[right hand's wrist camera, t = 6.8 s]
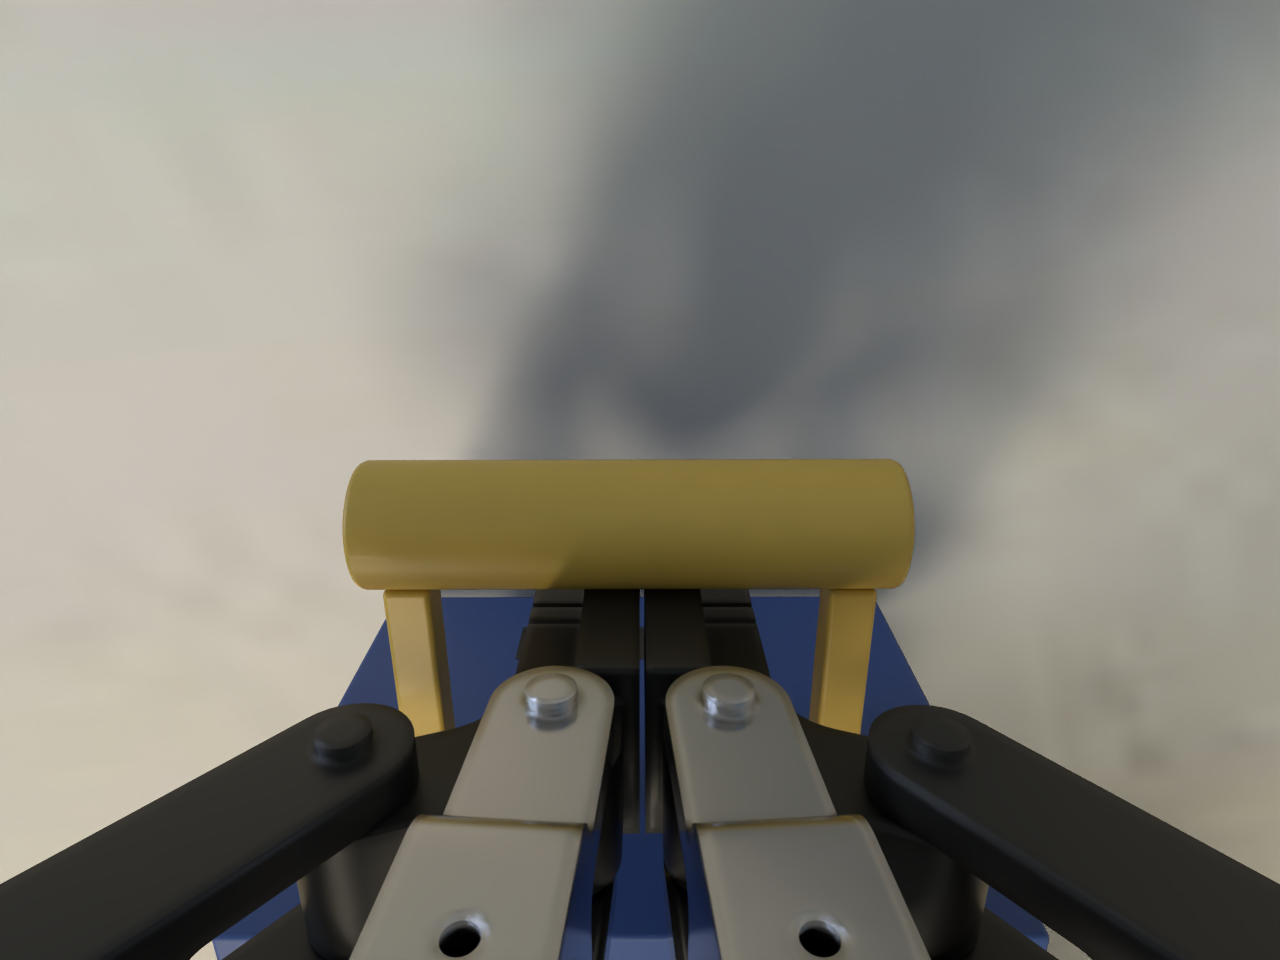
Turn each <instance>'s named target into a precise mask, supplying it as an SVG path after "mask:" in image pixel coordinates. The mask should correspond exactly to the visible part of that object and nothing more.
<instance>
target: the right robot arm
mask: <svg viewBox="0 0 1280 960" xmlns="http://www.w3.org/2000/svg"><path fill="white" fill-rule="evenodd" d="M644 711H645V829H646V833H663V897H664V905H665V913H666V922H667V930H668V938H669V946H670V954H671V960H1058V959H1057V958H1055V957H1054V956H1053V955H1051V954H1050V953H1048V952H1047V951H1046V950H1044V949H1043V948H1042V947H1040V946H1039V945H1037V944H1036V943H1035V942H1033V941H1032V940H1030V939H1029V938H1028V937H1026V936H1025V935H1023V934H1022V933H1021V932H1019V931H1018V930H1016V929H1015V928H1014V927H1012V926H1011V925H1010V924H1008V923H1007V922H1005V921H1004V920H1003V919H1001V918H1000V917H998V916H997V915H996V914H994V913H993V912H991V911H990V910H989V909H987V908H986V907H985V903H986V898H987V893H988V888H989V886H990V887H992V888H993V889H995V890H996V891H998V892H999V893H1001V894H1002V895H1003V896H1005V897H1006V898H1008V899H1009V900H1011V901H1012V902H1014V903H1015V904H1016V905H1018V906H1019V907H1021V908H1022V909H1024V910H1025V911H1026V912H1028V913H1029V914H1031V915H1032V916H1034V917H1035V918H1037V919H1038V920H1039V921H1041V922H1042V923H1044V924H1045V925H1047V926H1048V927H1049V928H1051V929H1052V930H1054V931H1055V932H1057V933H1058V934H1060V935H1061V936H1062V937H1064V938H1065V939H1067V940H1068V941H1070V942H1071V943H1073V944H1074V945H1075V946H1077V947H1078V948H1079V949H1081V950H1082V951H1083V952H1085V953H1086V954H1087V955H1088V956H1089V957H1090V958H1091V959H1092V960H1280V884H1278V883H1276V882H1274V881H1273V880H1271V879H1269V878H1267V877H1265V876H1263V875H1262V874H1260V873H1258V872H1256V871H1254V870H1252V869H1250V868H1249V867H1247V866H1245V865H1243V864H1241V863H1239V862H1238V861H1236V860H1234V859H1232V858H1230V857H1228V856H1226V855H1225V854H1223V853H1221V852H1219V851H1217V850H1215V849H1214V848H1212V847H1210V846H1208V845H1206V844H1204V843H1202V842H1201V841H1199V840H1197V839H1195V838H1193V837H1191V836H1190V835H1188V834H1186V833H1184V832H1182V831H1180V830H1178V829H1177V828H1175V827H1173V826H1171V825H1169V824H1167V823H1166V822H1164V821H1162V820H1160V819H1158V818H1156V817H1154V816H1153V815H1151V814H1149V813H1147V812H1145V811H1143V810H1142V809H1140V808H1138V807H1136V806H1134V805H1132V804H1130V803H1129V802H1127V801H1125V800H1123V799H1121V798H1119V797H1118V796H1116V795H1114V794H1112V793H1110V792H1108V791H1106V790H1105V789H1103V788H1101V787H1099V786H1097V785H1095V784H1094V783H1092V782H1090V781H1088V780H1086V779H1084V778H1082V777H1081V776H1079V775H1077V774H1075V773H1073V772H1071V771H1070V770H1068V769H1066V768H1064V767H1062V766H1060V765H1058V764H1057V763H1055V762H1053V761H1051V760H1049V759H1047V758H1046V757H1044V756H1042V755H1040V754H1038V753H1036V752H1034V751H1033V750H1031V749H1029V748H1027V747H1025V746H1023V745H1022V744H1020V743H1018V742H1016V741H1014V740H1012V739H1011V738H1009V737H1007V736H1005V735H1003V734H1001V733H999V732H998V731H996V730H994V729H992V728H990V727H988V726H987V725H985V724H983V723H981V722H979V721H977V720H975V719H973V718H971V717H969V716H967V715H965V714H962V713H959V712H957V711H954V710H950V709H946V708H942V707H936V706H930V705H906V706H900V707H896V708H892V709H889V710H887V711H885V712H883V713H882V714H880V715H879V716H878V717H876V719H875V720H874V721H873V722H872V724H871V726H870V729H869V735H868V736H865V735H861V734H856V733H851V732H847V731H842V730H838V729H834V728H830V727H826V726H823V725H820V724H817V723H815V722H812V721H810V720H808V719H806V718H804V717H802V716H800V715H799V714H797V713H796V712H795V710H794V707H793V705H792V702H791V700H790V698H789V696H788V694H787V692H786V691H785V690H784V689H783V687H782V686H781V685H779V684H778V683H777V682H776V681H774V680H773V679H771V677H770V673H769V669H768V665H767V661H766V657H765V654H764V650H763V646H762V642H761V638H760V634H759V630H758V626H757V624H756V618H755V614H754V610H753V607H752V603H751V599H750V595H749V591H748V589H644ZM623 834H640V589H536V592H535V596H534V601H533V607H532V609H531V613H530V617H529V624H528V625H527V629H526V633H525V637H524V641H523V645H522V650H521V654H520V658H519V662H518V666H517V670H516V674H515V675H514V676H512V677H510V678H509V679H507V680H505V681H504V682H503V683H502V684H501V685H499V686H498V687H497V689H496V690H495V691H494V692H493V694H492V696H491V697H490V699H489V702H488V704H487V707H486V709H485V712H484V714H483V717H482V718H480V719H478V720H476V721H474V722H472V723H469V724H467V725H464V726H461V727H457V728H453V729H450V730H445V731H440V732H436V733H431V734H427V735H422V736H417V737H415V733H414V727H413V725H412V722H411V721H410V719H409V718H408V717H407V716H406V715H405V714H404V713H402V712H401V711H399V710H397V709H395V708H393V707H390V706H386V705H381V704H375V703H357V704H348V705H343V706H338V707H334V708H331V709H327V710H325V711H322V712H319V713H317V714H315V715H313V716H311V717H308V718H306V719H305V720H303V721H301V722H299V723H297V724H295V725H294V726H292V727H290V728H288V729H286V730H284V731H282V732H281V733H279V734H277V735H275V736H273V737H271V738H270V739H268V740H266V741H264V742H262V743H260V744H258V745H257V746H255V747H253V748H251V749H249V750H247V751H246V752H244V753H242V754H240V755H238V756H236V757H234V758H233V759H231V760H229V761H227V762H225V763H223V764H222V765H220V766H218V767H216V768H214V769H212V770H210V771H209V772H207V773H205V774H203V775H201V776H199V777H198V778H196V779H194V780H192V781H190V782H188V783H186V784H185V785H183V786H181V787H179V788H177V789H175V790H174V791H172V792H170V793H168V794H166V795H164V796H162V797H161V798H159V799H157V800H155V801H153V802H151V803H150V804H148V805H146V806H144V807H142V808H140V809H138V810H137V811H135V812H133V813H131V814H129V815H127V816H126V817H124V818H122V819H120V820H118V821H116V822H114V823H113V824H111V825H109V826H107V827H105V828H103V829H102V830H100V831H98V832H96V833H94V834H92V835H90V836H89V837H87V838H85V839H83V840H81V841H79V842H78V843H76V844H74V845H72V846H70V847H68V848H66V849H65V850H63V851H61V852H59V853H57V854H55V855H54V856H52V857H50V858H48V859H46V860H44V861H42V862H41V863H39V864H37V865H35V866H33V867H31V868H30V869H28V870H26V871H24V872H22V873H20V874H18V875H17V876H15V877H13V878H11V879H9V880H7V881H6V882H4V883H2V884H0V960H190V958H191V957H192V956H193V955H194V954H195V953H196V952H198V951H199V950H200V949H201V948H202V947H204V946H205V945H206V944H208V943H209V942H210V941H212V940H213V939H215V938H216V937H218V936H219V935H220V934H222V933H223V932H225V931H226V930H228V929H229V928H231V927H232V926H233V925H235V924H236V923H238V922H239V921H241V920H242V919H243V918H245V917H246V916H248V915H249V914H251V913H252V912H254V911H255V910H256V909H258V908H259V907H261V906H262V905H264V904H265V903H267V902H268V901H269V900H271V899H272V898H274V897H275V896H277V895H278V894H279V893H281V892H282V891H284V890H285V889H287V888H288V887H290V886H291V885H292V884H294V883H295V882H297V887H298V892H299V897H300V902H301V903H300V904H298V905H297V906H296V907H294V908H293V909H291V910H290V911H289V912H287V913H286V914H284V915H283V916H282V917H280V918H279V919H277V920H276V921H275V922H273V923H272V924H271V925H269V926H268V927H266V928H265V929H264V930H262V931H261V932H259V933H258V934H257V935H255V936H254V937H252V938H251V939H250V940H248V941H247V942H245V943H244V944H243V945H241V946H240V947H238V948H237V949H236V950H234V951H233V952H232V953H230V954H229V955H227V956H226V957H225V958H223V959H222V960H609V954H610V945H611V937H612V929H613V921H614V913H615V904H616V896H617V872H618V870H619V867H620V865H621V860H622V845H623Z"/></svg>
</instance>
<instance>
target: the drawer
mask: <svg viewBox="0 0 1280 960" xmlns="http://www.w3.org/2000/svg"><path fill="white" fill-rule="evenodd" d="M914 535H915V520H914V507H913V499H912V494H911V489H910V485H909V482H908V478H907V476H906V473H905V471H904V469H903V468H902V466H901V465H900V464H899V463H898V462H896V461H894V460H892V459H691V460H369V461H365V462H363V463H361V464H360V465H358V466H357V468H356V469H355V470H354V472H353V474H352V476H351V479H350V482H349V485H348V488H347V492H346V497H345V503H344V510H343V545H344V552H345V558H346V562H347V566H348V570H349V573H350V575H351V577H352V579H353V581H354V582H355V583H356V584H357V585H358V586H359V587H361V588H363V589H367V590H385V591H384V594H383V599H384V606H385V613H386V619H385V621H384V623H383V625H382V627H381V629H380V630H379V632H378V634H377V636H376V638H375V640H374V641H373V643H372V645H371V647H370V649H369V651H368V652H367V654H366V656H365V658H364V660H363V661H362V663H361V665H360V667H359V669H358V671H357V672H356V674H355V676H354V678H353V680H352V682H351V683H350V685H349V687H348V689H347V691H346V693H345V694H344V696H343V698H342V700H341V702H340V704H339V705H338V706H343V705H348V704H357V703H375V704H381V705H386V706H390V707H393V708H395V709H397V710H399V711H401V712H402V713H404V714H405V715H406V716H407V717H408V718H409V719H410V721H411V722H412V725H413V727H414V733H415V737H417V736H422V735H427V734H431V733H436V732H440V731H445V730H450V729H453V728H457V727H461V726H464V725H467V724H469V723H472V722H474V721H476V720H478V719H480V718H482V717H483V714H484V712H485V709H486V707H487V704H488V702H489V699H490V697H491V696H492V694H493V692H494V691H495V690H496V689H497V687H498V686H499V685H501V684H502V683H503V682H504V681H505V680H507V679H509V678H510V677H512V676H514V675H515V674H516V670H517V666H518V662H519V658H520V654H521V650H522V645H523V641H524V637H525V633H526V629H527V625H528V624H529V617H530V613H531V609H532V607H533V601H534V597H441V592H440V590H446V589H821V590H820V597H750V599H751V603H752V607H753V610H754V614H755V618H756V624H757V626H758V630H759V634H760V638H761V642H762V646H763V650H764V654H765V657H766V661H767V665H768V669H769V673H770V677H771V679H773V680H774V681H776V682H777V683H778V684H779V685H781V686H782V687H783V689H784V690H785V691H786V692H787V694H788V696H789V698H790V700H791V702H792V705H793V707H794V710H795V712H796V713H797V714H799V715H800V716H802V717H804V718H806V719H808V720H810V721H812V722H815V723H817V724H820V725H823V726H826V727H830V728H834V729H838V730H842V731H847V732H851V733H856V734H861V735H865V736H868V735H869V729H870V726H871V724H872V722H873V721H874V720H875V719H876V717H878V716H879V715H880V714H882V713H883V712H885V711H887V710H889V709H892V708H896V707H900V706H906V705H929V703H928V701H927V699H926V697H925V695H924V693H923V691H922V689H921V687H920V685H919V683H918V681H917V680H916V678H915V676H914V674H913V672H912V670H911V668H910V666H909V664H908V662H907V660H906V658H905V656H904V654H903V652H902V651H901V649H900V647H899V645H898V643H897V641H896V639H895V637H894V635H893V633H892V631H891V629H890V627H889V625H888V623H887V622H886V620H885V618H884V616H883V614H882V612H881V610H880V608H879V606H878V604H877V602H876V597H877V593H876V591H875V589H892V588H895V587H898V586H900V585H901V584H902V583H903V582H904V580H905V578H906V576H907V574H908V571H909V568H910V564H911V559H912V554H913V547H914ZM300 903H301V902H300V897H299V892H298V887H297V882H295V883H294V884H292V885H291V886H290V887H288V888H287V889H285V890H284V891H282V892H281V893H279V894H278V895H277V896H275V897H274V898H272V899H271V900H269V901H268V902H267V903H265V904H264V905H262V906H261V907H259V908H258V909H256V910H255V911H254V912H252V913H251V914H249V915H248V916H246V917H245V918H243V919H242V920H241V921H239V922H238V923H236V924H235V925H233V926H232V927H231V928H229V929H228V930H226V931H225V932H223V933H222V934H220V935H219V936H218V937H216V938H215V939H213V940H212V941H213V945H214V949H215V952H216V956H217V959H218V960H222V959H223V958H225V957H226V956H227V955H229V954H230V953H232V952H233V951H234V950H236V949H237V948H238V947H240V946H241V945H243V944H244V943H245V942H247V941H248V940H250V939H251V938H252V937H254V936H255V935H257V934H258V933H259V932H261V931H262V930H264V929H265V928H266V927H268V926H269V925H271V924H272V923H273V922H275V921H276V920H277V919H279V918H280V917H282V916H283V915H284V914H286V913H287V912H289V911H290V910H291V909H293V908H294V907H296V906H297V905H298V904H300ZM985 907H986V908H987V909H989V910H990V911H991V912H993V913H994V914H996V915H997V916H998V917H1000V918H1001V919H1003V920H1004V921H1005V922H1007V923H1008V924H1010V925H1011V926H1012V927H1014V928H1015V929H1016V930H1018V931H1019V932H1021V933H1022V934H1023V935H1025V936H1026V937H1028V938H1029V939H1030V940H1032V941H1033V942H1035V943H1036V944H1037V945H1039V946H1040V947H1042V948H1043V949H1044V950H1046V951H1047V947H1048V943H1049V935H1048V933H1047V931H1046V929H1045V927H1044V925H1043V923H1042V922H1041V921H1039V920H1038V919H1037V918H1035V917H1034V916H1032V915H1031V914H1029V913H1028V912H1026V911H1025V910H1024V909H1022V908H1021V907H1019V906H1018V905H1016V904H1015V903H1014V902H1012V901H1011V900H1009V899H1008V898H1006V897H1005V896H1003V895H1002V894H1001V893H999V892H998V891H996V890H995V889H993V888H992V887H990V886H989V888H988V893H987V898H986V903H985ZM609 960H671V954H670V946H669V938H668V930H667V922H666V913H665V905H664V897H663V833H646V829H645V711H644V597H640V834H623V845H622V860H621V865H620V867H619V870H618V872H617V896H616V904H615V913H614V921H613V929H612V937H611V945H610V954H609Z"/></svg>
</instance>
